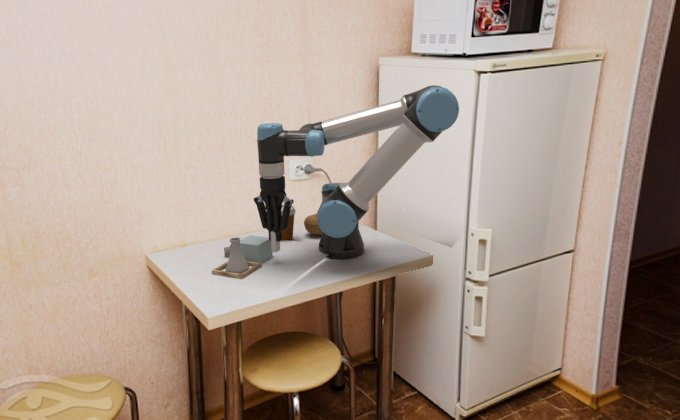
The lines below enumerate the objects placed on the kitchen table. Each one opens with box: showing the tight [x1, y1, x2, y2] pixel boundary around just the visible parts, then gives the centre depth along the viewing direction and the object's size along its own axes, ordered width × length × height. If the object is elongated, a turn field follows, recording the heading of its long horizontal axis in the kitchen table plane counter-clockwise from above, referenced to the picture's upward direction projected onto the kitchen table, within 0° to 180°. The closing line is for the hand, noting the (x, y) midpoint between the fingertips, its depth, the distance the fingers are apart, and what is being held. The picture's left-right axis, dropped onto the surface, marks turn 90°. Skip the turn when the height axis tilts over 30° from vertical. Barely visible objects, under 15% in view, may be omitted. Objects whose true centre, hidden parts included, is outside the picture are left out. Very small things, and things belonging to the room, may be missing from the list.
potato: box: [303, 213, 323, 236], centre depth 206 cm, size 10×14×8 cm
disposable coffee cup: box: [274, 204, 296, 242], centre depth 199 cm, size 10×10×12 cm
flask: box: [225, 237, 250, 274], centre depth 168 cm, size 7×7×10 cm
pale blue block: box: [240, 234, 274, 264], centre depth 178 cm, size 8×8×6 cm
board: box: [211, 244, 263, 280], centre depth 175 cm, size 18×20×4 cm
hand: (276, 250), depth 175 cm, fingers closed
